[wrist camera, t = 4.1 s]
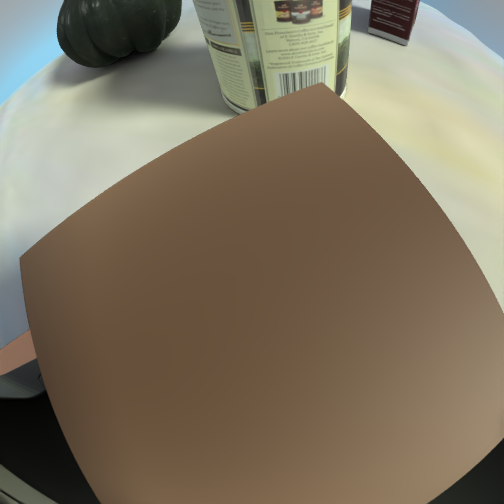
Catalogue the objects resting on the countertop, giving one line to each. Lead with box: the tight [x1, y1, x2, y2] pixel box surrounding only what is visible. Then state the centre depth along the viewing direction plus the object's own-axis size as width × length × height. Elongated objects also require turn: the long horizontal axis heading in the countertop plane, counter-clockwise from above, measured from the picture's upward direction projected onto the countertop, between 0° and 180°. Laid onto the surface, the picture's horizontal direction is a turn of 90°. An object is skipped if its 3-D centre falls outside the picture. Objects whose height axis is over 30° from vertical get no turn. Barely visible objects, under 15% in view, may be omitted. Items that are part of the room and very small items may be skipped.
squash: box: [57, 0, 182, 68], centre depth 22 cm, size 14×15×15 cm
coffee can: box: [193, 0, 352, 114], centre depth 14 cm, size 10×10×14 cm
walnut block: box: [20, 82, 504, 504], centre depth 8 cm, size 5×5×12 cm
